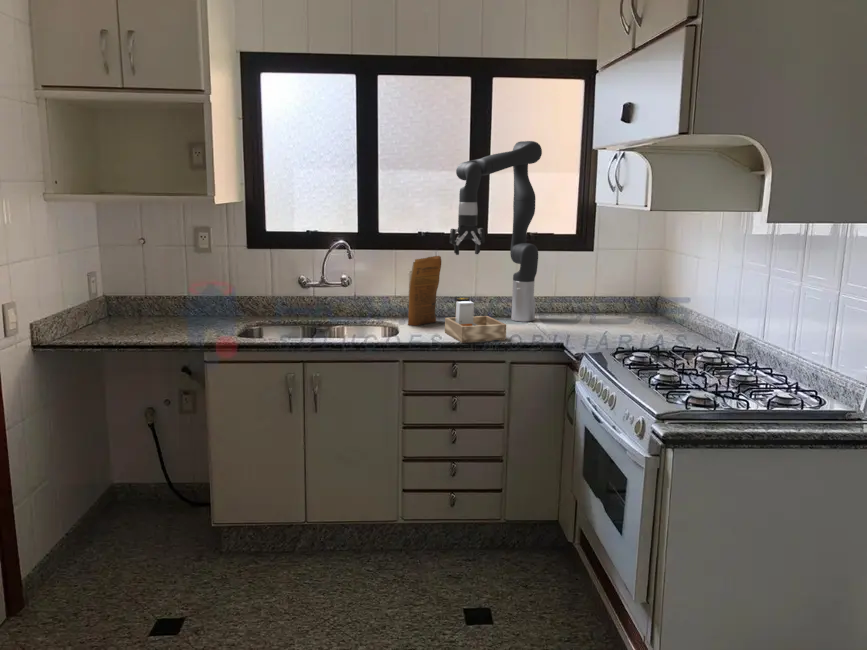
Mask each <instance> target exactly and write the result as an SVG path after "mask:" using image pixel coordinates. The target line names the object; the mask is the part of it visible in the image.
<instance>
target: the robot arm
mask: <svg viewBox="0 0 867 650" xmlns="http://www.w3.org/2000/svg"><path fill="white" fill-rule="evenodd" d="M542 156H543V150H542V147H541V145H540V144H539V143H538V142H536V141H533V140H525V141H522V140H521V141H517V142H516V143H515V144H514V146H513V149H512V150H510V151H505V152H498V153H495V154H494V153H493V154H489V155H486V156H484V157H481V158H477V159H472V160H468V161H463V162H461V163H460V164H458V166H457V167H456V171H455V173H456V177H457V178H458V179H460V180H461V181H465V184H464V186H462V187H460V189H459V198H458V199H459V200H458V201H459V203H458V213H457V214H458V215H457V216H458V220H457V221H458V222H457V225H458V227H457V228H450V234H449V244H452V245H453V248H454V249H453V252H454V254H455V255H456V256H459V255H460V244H461V242H462V241H463V240H472V241H473V242H474V243H475V246H474V254H475V255H479V254H480V252H481V245H482V244H485V243H486V241H485V239H486V238H485V237H486V236H485V233H486V232H485V228H483V227H479V228H478V212H479V211H478V190H479V187H480V183H481V179H482V176H488V175H492V174H494V173H497V172H500V171H502V170H506V169H509V168H513V170H512V172H513V200H512V201H513V205H512V207H513V217H512V236H511V242H510V258H511V261H512V262H513V263H514V264H517V265H518V264H519V265H520V266H519V270H518V271H517V272H514V273H513V276H512V297H511V315H510V316H511V317H510V319H511V320H512V321H514V322H515V321H516V322H524V323H525V322H532V321H536V320H535V318H536V317H535V316H536V298H534V297H535V278H536V276H537V272H538V264H539V250H538V247H537V246H536V245H535V244H532V243H529V242H527V232H528V229H529V226H530V224H531V222H532V221H533V218H534V216H535V214H536V213H535V212H536V192H535V190H534V188H533V185H532V183H531V181H530V178H529V165H533V164H535V163H537V162H539V161H540V159H541V157H542ZM477 233H478V234H479V238H478V236H477ZM457 234H458V235H457ZM456 235H457V237H456Z"/></svg>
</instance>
